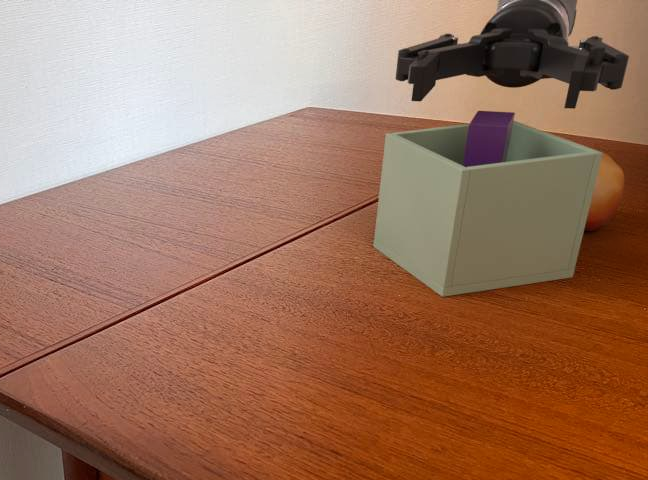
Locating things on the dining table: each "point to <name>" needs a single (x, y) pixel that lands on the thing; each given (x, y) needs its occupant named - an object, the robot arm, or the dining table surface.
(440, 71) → the robot arm
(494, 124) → the purple rectangular block
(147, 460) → the dining table surface
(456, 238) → the bin
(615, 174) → the fruit
